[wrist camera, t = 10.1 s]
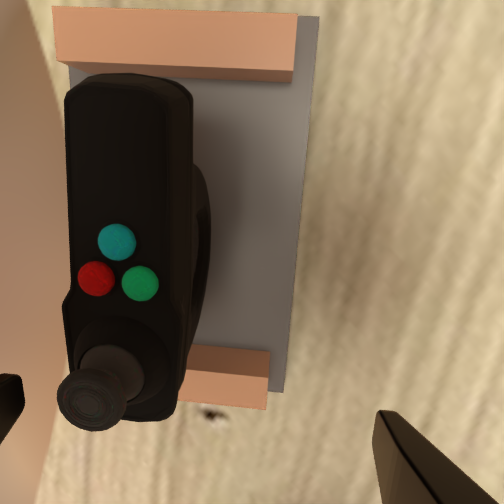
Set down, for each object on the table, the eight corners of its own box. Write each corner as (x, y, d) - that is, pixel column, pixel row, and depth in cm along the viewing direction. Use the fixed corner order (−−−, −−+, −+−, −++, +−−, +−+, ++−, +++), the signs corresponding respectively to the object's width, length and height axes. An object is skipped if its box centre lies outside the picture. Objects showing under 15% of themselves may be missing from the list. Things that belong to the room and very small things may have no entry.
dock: (283, 382, 22) (283, 423, 19) (101, 363, 23) (70, 399, 20) (317, 24, 17) (326, -9, 13) (75, 16, 17) (26, -17, 14)
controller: (145, 322, 21) (26, 468, 11) (145, 98, 17) (-28, 30, 8) (217, 330, 20) (158, 488, 11) (231, 104, 17) (164, 43, 7)
